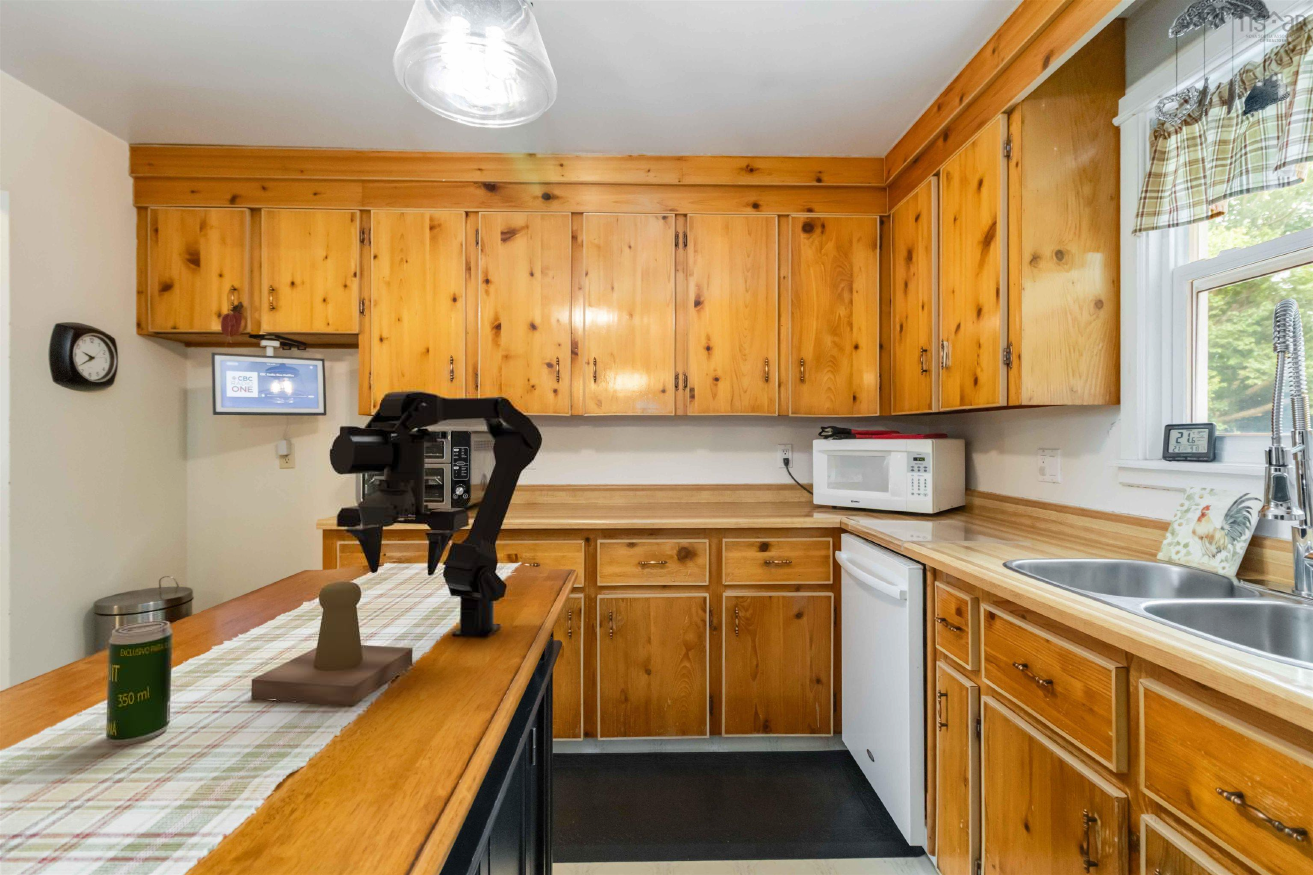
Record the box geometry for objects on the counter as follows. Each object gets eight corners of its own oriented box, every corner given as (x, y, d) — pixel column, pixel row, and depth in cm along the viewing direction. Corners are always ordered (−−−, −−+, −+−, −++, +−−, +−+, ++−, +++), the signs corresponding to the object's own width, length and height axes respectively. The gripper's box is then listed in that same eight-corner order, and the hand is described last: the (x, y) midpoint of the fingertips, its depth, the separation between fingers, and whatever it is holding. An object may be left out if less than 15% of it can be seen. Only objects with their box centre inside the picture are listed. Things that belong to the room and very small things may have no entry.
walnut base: (325, 659, 89) (325, 642, 89) (412, 664, 87) (412, 647, 87) (251, 698, 75) (251, 679, 75) (352, 706, 73) (353, 686, 73)
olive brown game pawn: (341, 672, 77) (343, 589, 77) (302, 668, 79) (304, 586, 79) (372, 656, 83) (374, 579, 83) (336, 652, 84) (338, 576, 85)
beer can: (164, 718, 69) (167, 617, 69) (174, 733, 66) (177, 626, 66) (102, 735, 65) (105, 627, 65) (109, 752, 62) (113, 638, 62)
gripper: (312, 473, 83) (309, 583, 83) (436, 476, 81) (434, 589, 80) (360, 470, 94) (358, 567, 94) (471, 472, 92) (469, 572, 91)
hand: (402, 573), depth 89 cm, fingers open, 9 cm apart
